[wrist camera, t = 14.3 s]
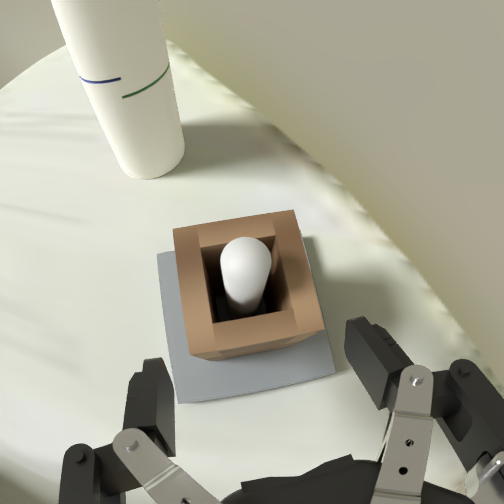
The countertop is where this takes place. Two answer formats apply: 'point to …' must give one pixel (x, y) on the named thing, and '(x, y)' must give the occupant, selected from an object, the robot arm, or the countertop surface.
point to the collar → (275, 292)
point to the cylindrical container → (126, 79)
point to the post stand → (232, 308)
